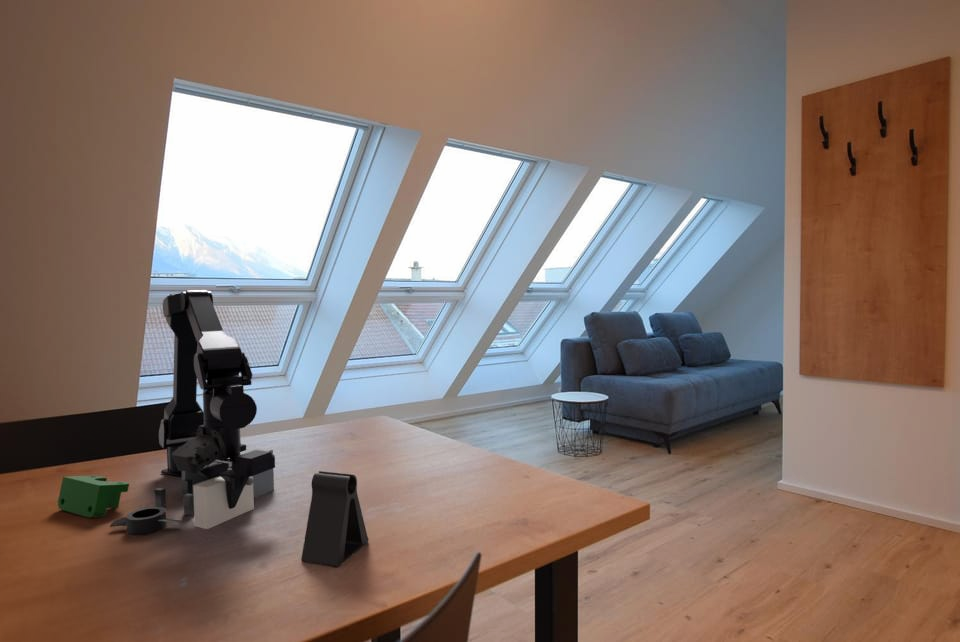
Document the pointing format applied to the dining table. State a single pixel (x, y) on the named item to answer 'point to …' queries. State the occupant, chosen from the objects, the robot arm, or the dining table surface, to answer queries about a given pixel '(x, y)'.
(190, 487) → the clip brackets
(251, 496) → the white block
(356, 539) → the phone stand
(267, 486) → the cabinet
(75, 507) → the clamp
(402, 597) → the dining table surface
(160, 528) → the dark grey tabbed ring
